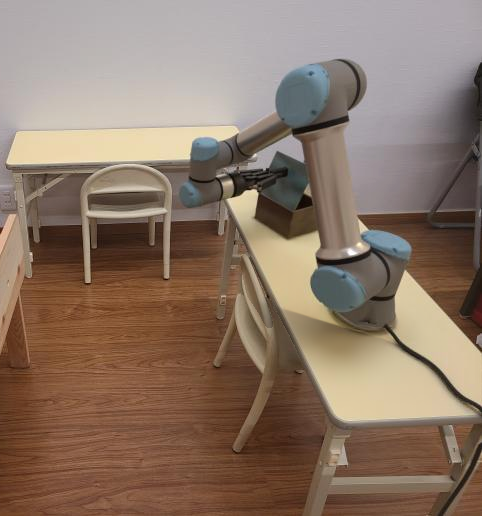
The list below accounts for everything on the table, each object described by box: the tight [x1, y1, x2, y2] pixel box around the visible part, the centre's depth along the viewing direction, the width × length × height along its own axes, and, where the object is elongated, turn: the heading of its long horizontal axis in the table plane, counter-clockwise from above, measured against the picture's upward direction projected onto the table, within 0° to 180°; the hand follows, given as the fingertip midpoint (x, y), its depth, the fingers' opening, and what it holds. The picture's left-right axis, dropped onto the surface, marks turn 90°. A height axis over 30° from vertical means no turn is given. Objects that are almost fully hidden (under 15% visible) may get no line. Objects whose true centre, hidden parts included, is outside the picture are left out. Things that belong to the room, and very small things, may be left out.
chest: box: [253, 192, 318, 240], centre depth 167 cm, size 14×17×10 cm
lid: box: [261, 150, 309, 211], centre depth 158 cm, size 14×17×1 cm
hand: (286, 171), depth 157 cm, fingers closed
